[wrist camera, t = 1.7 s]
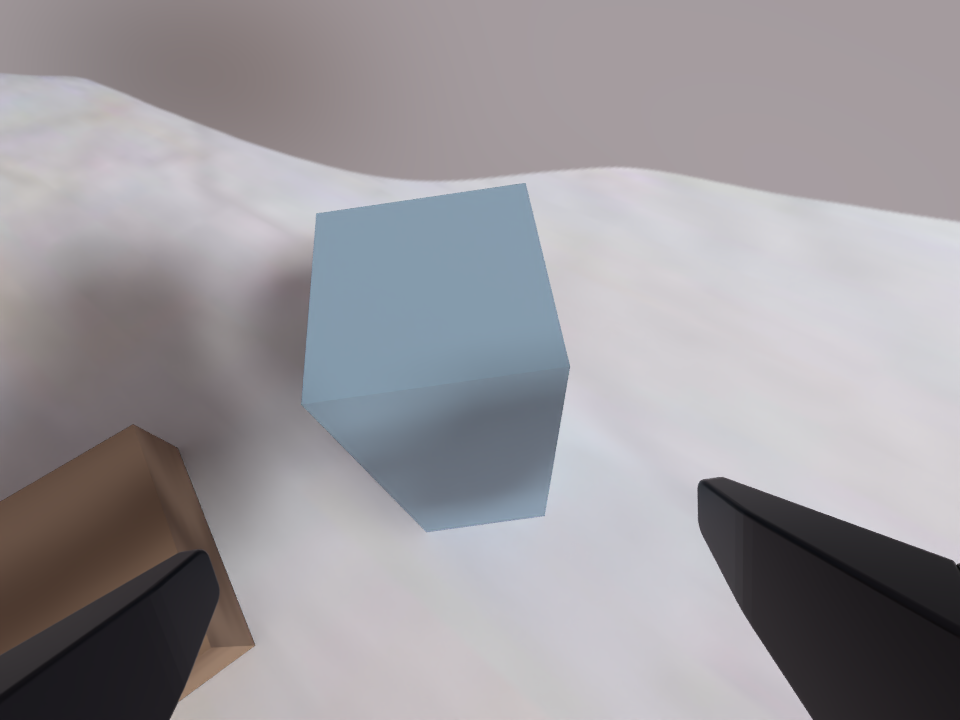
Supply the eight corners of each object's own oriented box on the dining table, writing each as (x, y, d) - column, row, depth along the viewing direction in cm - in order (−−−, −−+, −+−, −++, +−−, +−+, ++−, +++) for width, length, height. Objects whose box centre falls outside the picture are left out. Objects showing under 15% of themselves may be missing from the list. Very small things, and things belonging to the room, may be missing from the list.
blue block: (544, 516, 20) (570, 367, 9) (426, 531, 20) (301, 404, 9) (525, 407, 23) (525, 183, 11) (420, 422, 23) (316, 213, 11)
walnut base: (255, 645, 18) (211, 647, 16) (-17, 845, 16) (-121, 886, 14) (177, 447, 23) (133, 424, 20) (-45, 582, 21) (-127, 575, 18)
